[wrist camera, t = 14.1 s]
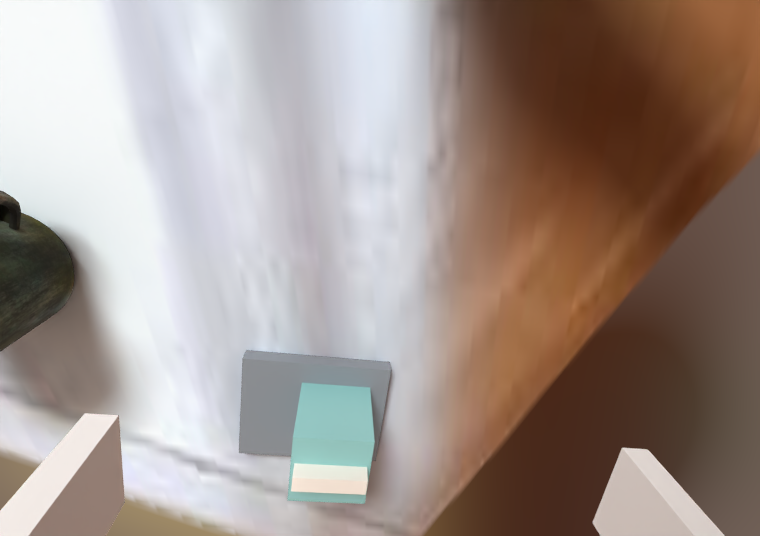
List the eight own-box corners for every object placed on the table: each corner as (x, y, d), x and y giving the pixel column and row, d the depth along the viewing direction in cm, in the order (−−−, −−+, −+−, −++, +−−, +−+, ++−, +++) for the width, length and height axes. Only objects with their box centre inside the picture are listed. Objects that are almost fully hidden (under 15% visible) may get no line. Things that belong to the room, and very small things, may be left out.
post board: (246, 350, 42) (228, 390, 36) (389, 362, 44) (396, 402, 37) (242, 442, 46) (225, 493, 39) (374, 450, 47) (379, 500, 41)
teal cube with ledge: (297, 438, 44) (285, 515, 36) (301, 382, 42) (290, 451, 33) (361, 442, 45) (365, 518, 36) (370, 387, 43) (375, 455, 34)
